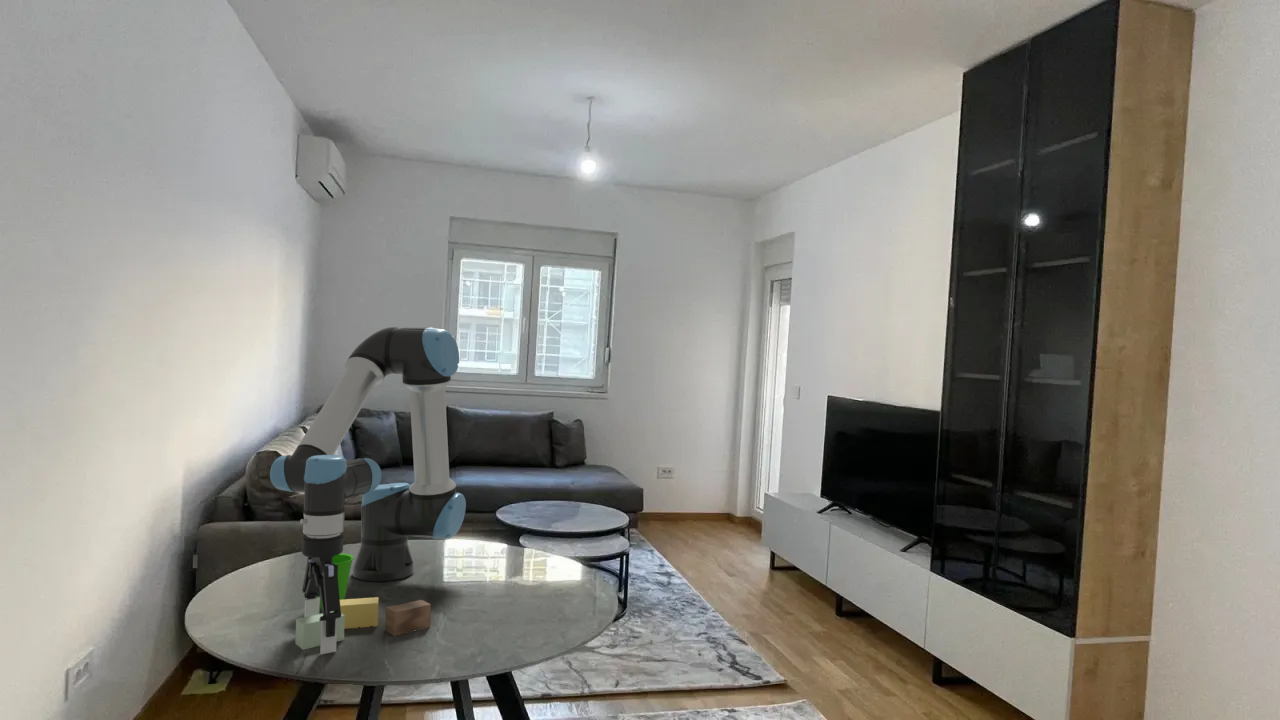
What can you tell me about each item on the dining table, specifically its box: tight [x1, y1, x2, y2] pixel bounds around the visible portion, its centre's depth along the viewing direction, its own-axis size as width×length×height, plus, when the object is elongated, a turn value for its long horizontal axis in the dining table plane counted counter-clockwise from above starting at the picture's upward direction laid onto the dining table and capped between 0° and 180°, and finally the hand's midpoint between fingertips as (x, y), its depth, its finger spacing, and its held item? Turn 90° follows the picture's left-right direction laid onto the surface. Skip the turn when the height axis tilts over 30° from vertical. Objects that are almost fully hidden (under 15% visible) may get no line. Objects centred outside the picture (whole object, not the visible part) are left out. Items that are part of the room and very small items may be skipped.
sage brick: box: [294, 611, 345, 651], centre depth 149 cm, size 8×4×5 cm, turn 134°
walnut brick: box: [385, 599, 432, 637], centre depth 158 cm, size 8×4×5 cm, turn 134°
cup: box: [316, 552, 355, 611], centre depth 170 cm, size 9×9×11 cm
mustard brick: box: [340, 596, 380, 630], centre depth 160 cm, size 8×4×5 cm, turn 108°
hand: (319, 641), depth 149 cm, fingers open, 13 cm apart
